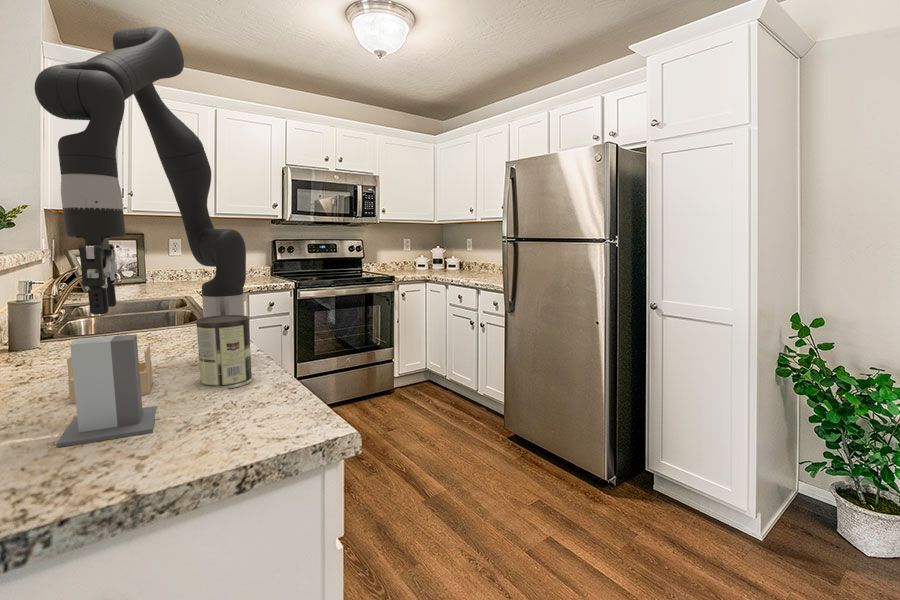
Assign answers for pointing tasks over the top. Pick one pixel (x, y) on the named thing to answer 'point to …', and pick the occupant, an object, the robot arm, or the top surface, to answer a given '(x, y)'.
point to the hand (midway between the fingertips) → (104, 310)
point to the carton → (144, 370)
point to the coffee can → (224, 351)
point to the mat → (108, 430)
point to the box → (106, 382)
